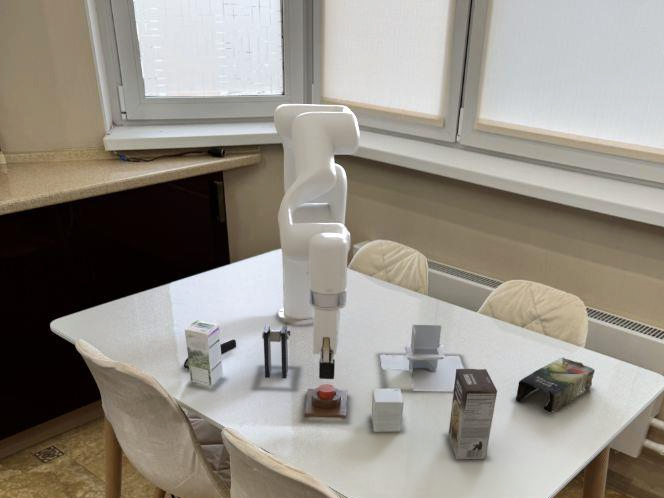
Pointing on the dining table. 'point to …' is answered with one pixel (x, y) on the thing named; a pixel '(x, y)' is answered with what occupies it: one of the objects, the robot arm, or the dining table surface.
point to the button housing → (326, 404)
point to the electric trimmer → (224, 348)
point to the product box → (387, 410)
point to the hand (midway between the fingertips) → (326, 377)
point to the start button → (326, 391)
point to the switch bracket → (268, 350)
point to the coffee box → (471, 413)
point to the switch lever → (276, 335)
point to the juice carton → (558, 382)
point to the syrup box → (204, 352)
